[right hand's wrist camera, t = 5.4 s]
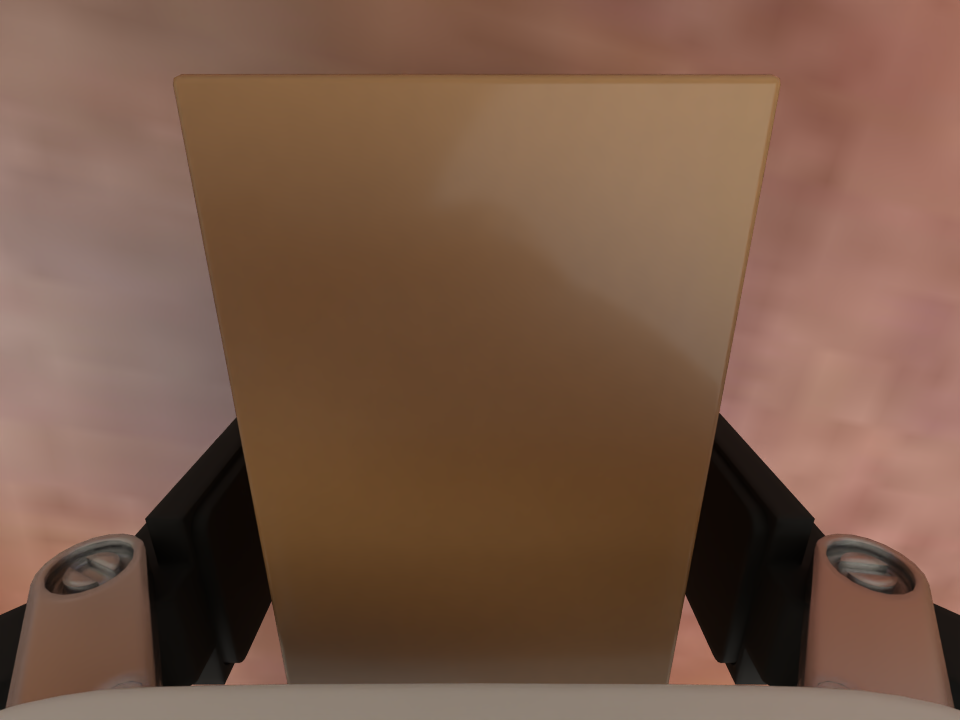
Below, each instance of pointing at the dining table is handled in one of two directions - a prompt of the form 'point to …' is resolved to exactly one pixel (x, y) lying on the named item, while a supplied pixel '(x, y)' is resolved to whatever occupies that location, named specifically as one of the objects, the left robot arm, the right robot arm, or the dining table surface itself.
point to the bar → (477, 355)
